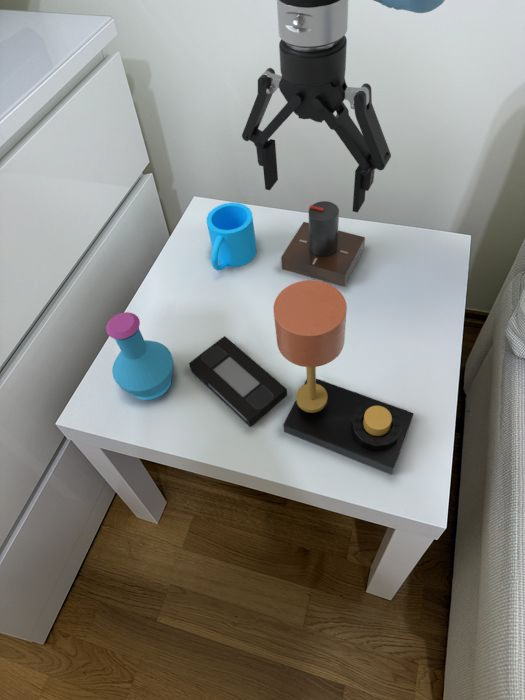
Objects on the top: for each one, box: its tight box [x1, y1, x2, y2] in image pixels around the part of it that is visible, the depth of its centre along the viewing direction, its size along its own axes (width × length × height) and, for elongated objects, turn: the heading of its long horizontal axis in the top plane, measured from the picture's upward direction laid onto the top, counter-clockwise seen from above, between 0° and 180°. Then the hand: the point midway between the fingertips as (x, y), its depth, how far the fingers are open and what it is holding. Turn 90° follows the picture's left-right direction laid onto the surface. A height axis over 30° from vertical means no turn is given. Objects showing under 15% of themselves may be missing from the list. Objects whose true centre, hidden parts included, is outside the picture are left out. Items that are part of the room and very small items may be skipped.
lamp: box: [273, 279, 348, 413], centre depth 65 cm, size 8×8×20 cm
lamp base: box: [282, 378, 415, 476], centre depth 73 cm, size 16×9×4 cm, turn 64°
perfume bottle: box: [105, 311, 174, 401], centre depth 76 cm, size 9×9×15 cm
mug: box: [206, 202, 258, 272], centre depth 93 cm, size 12×8×8 cm
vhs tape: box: [188, 335, 288, 428], centre depth 79 cm, size 8×14×2 cm, turn 43°
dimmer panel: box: [280, 221, 366, 288], centre depth 93 cm, size 12×10×3 cm
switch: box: [363, 406, 392, 436], centre depth 69 cm, size 4×4×2 cm
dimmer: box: [308, 200, 340, 257], centre depth 88 cm, size 5×5×8 cm
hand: (313, 195), depth 74 cm, fingers open, 13 cm apart
